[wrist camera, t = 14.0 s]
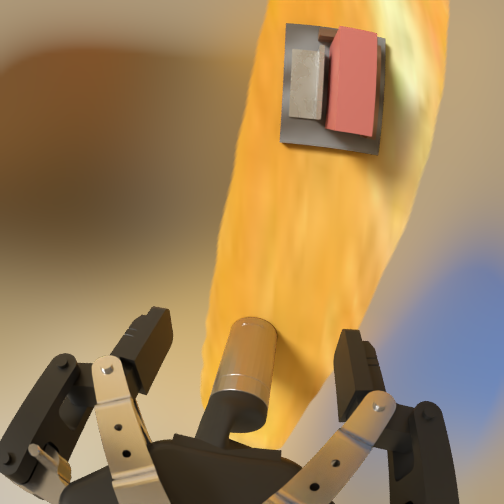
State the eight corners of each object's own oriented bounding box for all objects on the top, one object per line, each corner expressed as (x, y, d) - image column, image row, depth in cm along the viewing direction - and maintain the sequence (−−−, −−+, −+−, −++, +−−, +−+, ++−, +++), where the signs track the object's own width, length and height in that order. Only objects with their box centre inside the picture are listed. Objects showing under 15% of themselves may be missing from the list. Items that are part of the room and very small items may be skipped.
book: (358, 52, 29) (377, 33, 20) (353, 132, 35) (371, 136, 26) (329, 47, 30) (340, 26, 21) (324, 128, 35) (334, 130, 26)
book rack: (375, 154, 37) (386, 159, 32) (280, 141, 38) (278, 144, 33) (382, 41, 28) (394, 31, 24) (286, 26, 30) (284, 13, 25)
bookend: (318, 119, 35) (320, 119, 31) (288, 116, 35) (288, 116, 31) (321, 52, 30) (324, 45, 27) (292, 49, 30) (292, 42, 27)
